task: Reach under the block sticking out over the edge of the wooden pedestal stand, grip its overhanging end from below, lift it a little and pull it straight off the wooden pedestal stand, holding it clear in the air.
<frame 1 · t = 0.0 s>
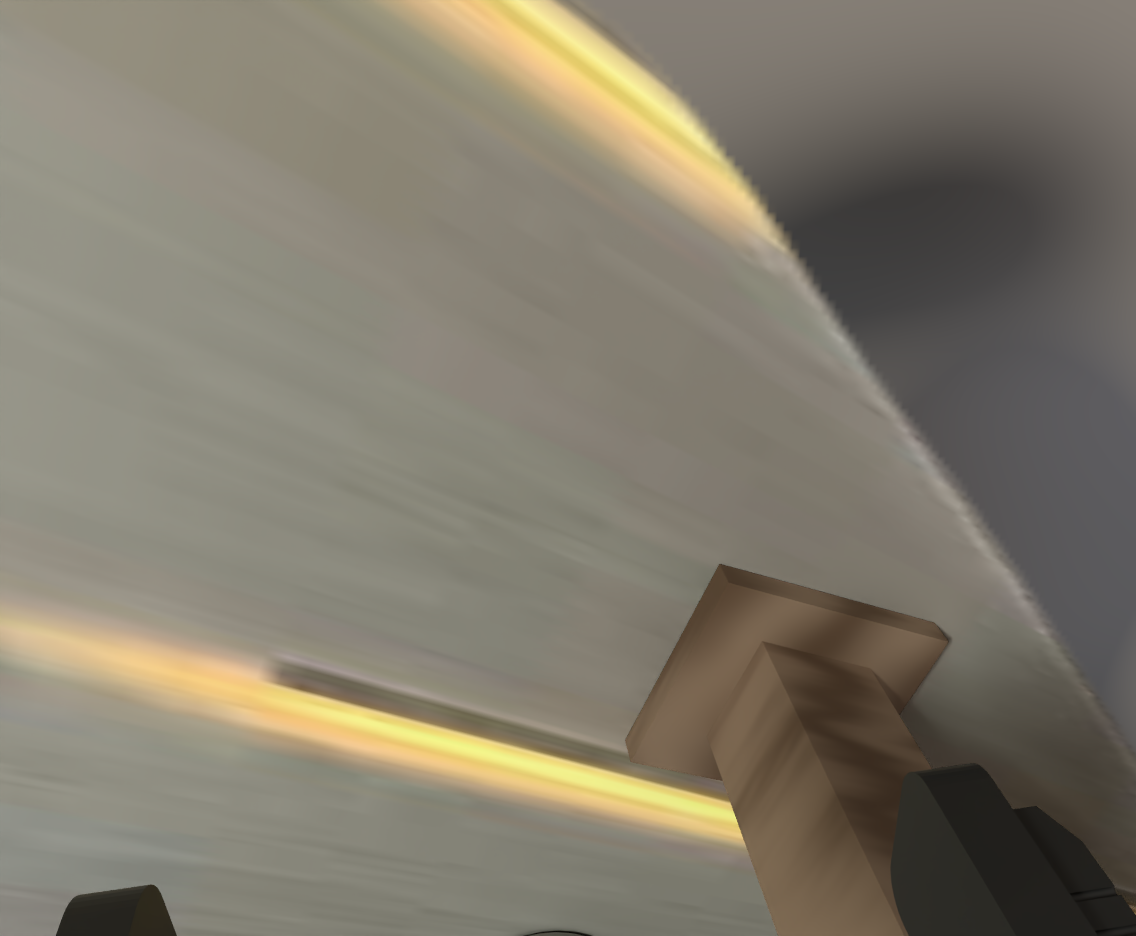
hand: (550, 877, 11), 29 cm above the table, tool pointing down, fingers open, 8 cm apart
wooden pedestal stand: (795, 686, 50), on the table
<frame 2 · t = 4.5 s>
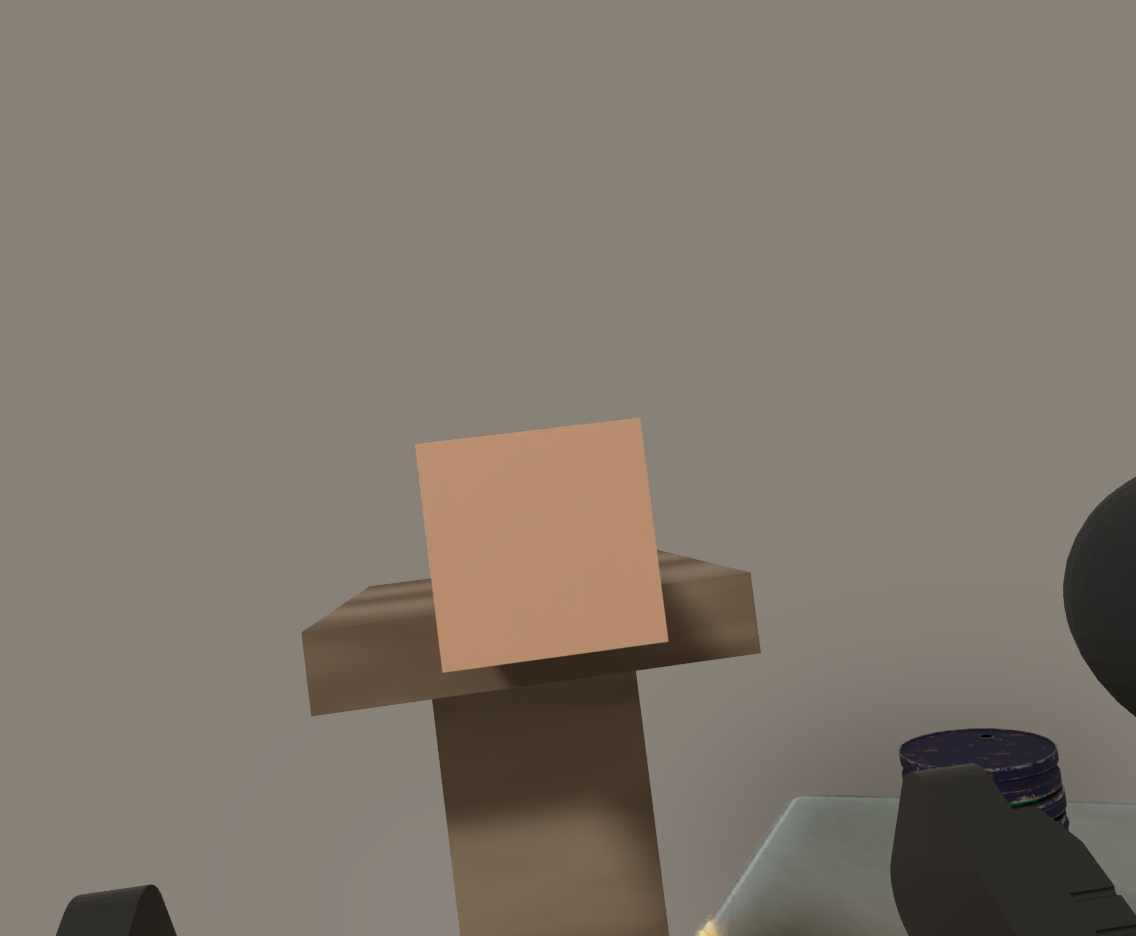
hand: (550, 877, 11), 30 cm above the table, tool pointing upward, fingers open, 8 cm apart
block: (525, 591, 27), point 32 cm above the table, touching wooden pedestal stand
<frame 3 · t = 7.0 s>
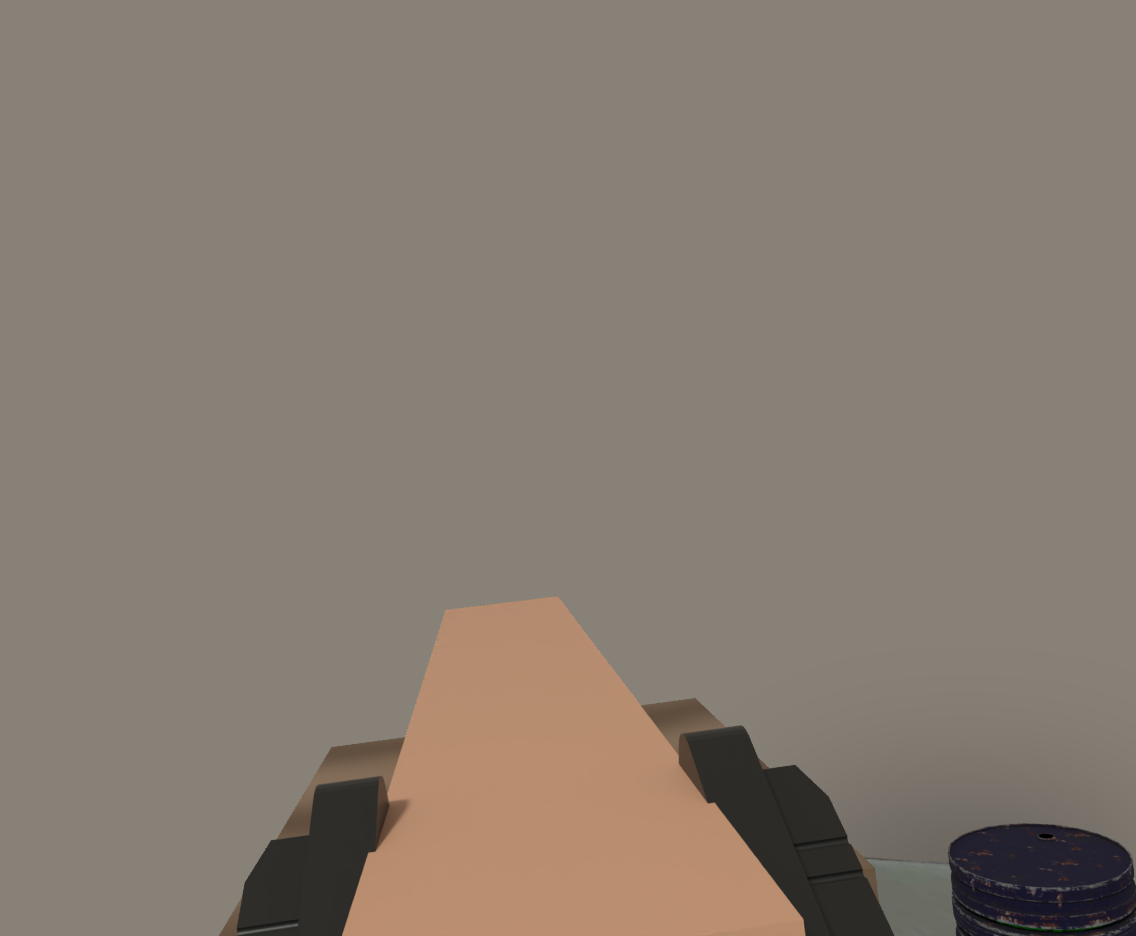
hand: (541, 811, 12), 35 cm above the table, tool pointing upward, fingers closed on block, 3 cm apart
block: (535, 851, 19), point 32 cm above the table, touching gripper, wooden pedestal stand
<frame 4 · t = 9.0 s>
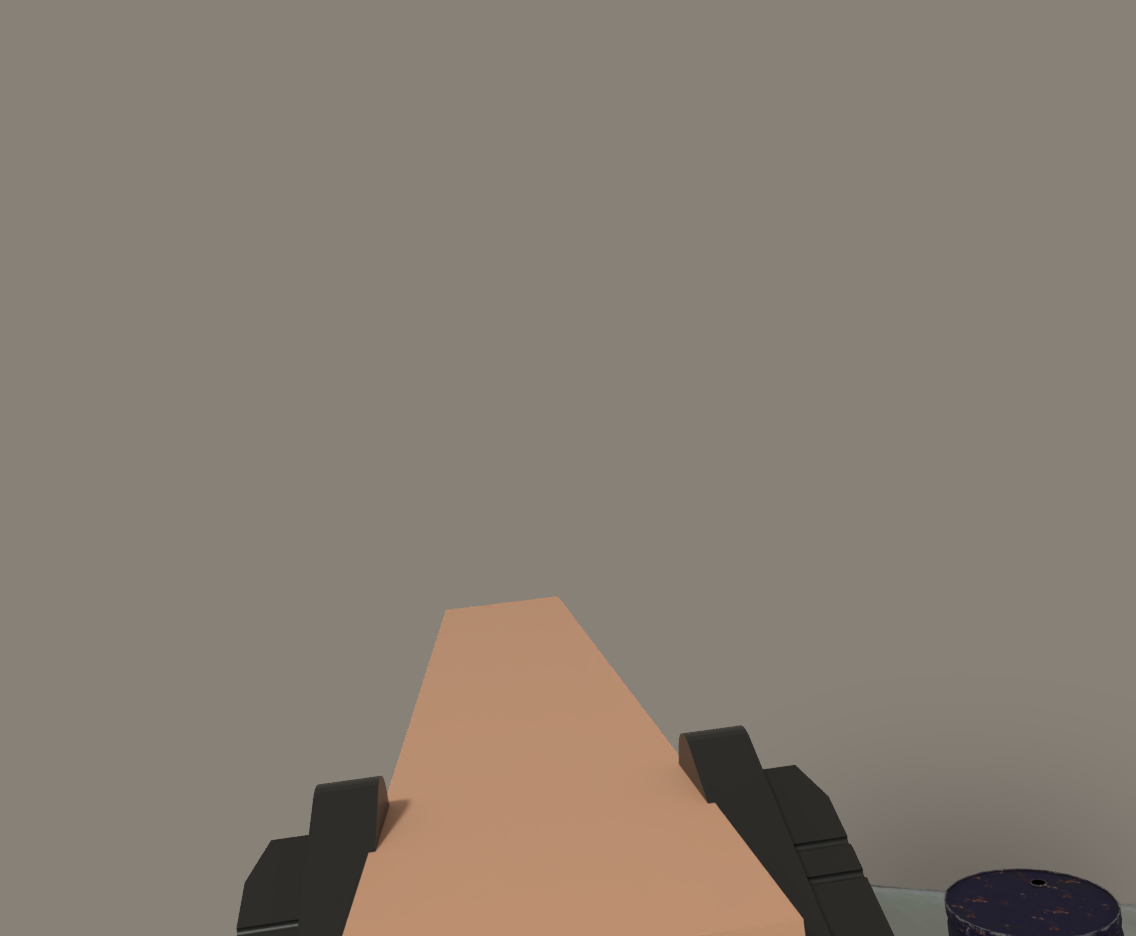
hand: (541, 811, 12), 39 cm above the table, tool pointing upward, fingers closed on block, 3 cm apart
block: (535, 851, 19), point 36 cm above the table, touching gripper
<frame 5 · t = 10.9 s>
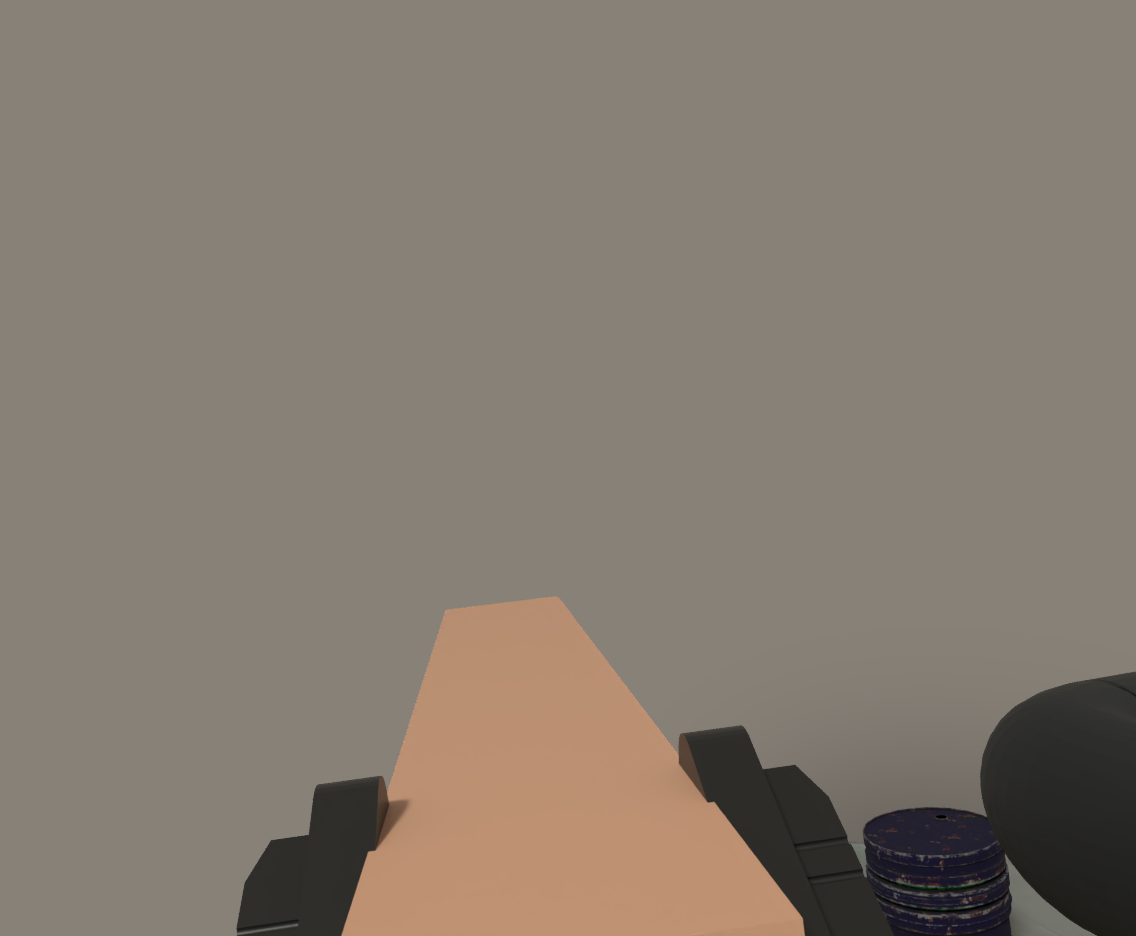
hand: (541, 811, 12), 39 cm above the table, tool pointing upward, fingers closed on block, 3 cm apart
block: (534, 851, 19), point 36 cm above the table, touching gripper
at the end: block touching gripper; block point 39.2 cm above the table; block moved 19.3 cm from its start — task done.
